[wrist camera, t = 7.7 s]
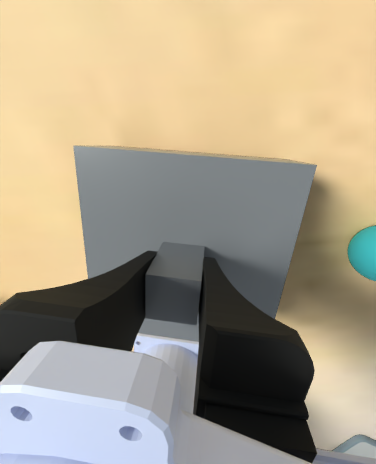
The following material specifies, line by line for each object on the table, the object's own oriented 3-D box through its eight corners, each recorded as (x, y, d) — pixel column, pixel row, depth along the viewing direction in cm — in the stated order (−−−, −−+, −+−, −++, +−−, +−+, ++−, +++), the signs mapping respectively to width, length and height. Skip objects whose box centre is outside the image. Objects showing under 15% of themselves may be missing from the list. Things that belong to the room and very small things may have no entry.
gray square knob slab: (254, 304, 19) (280, 409, 12) (120, 286, 20) (62, 373, 12) (286, 159, 15) (363, 173, 7) (113, 145, 16) (17, 145, 8)
